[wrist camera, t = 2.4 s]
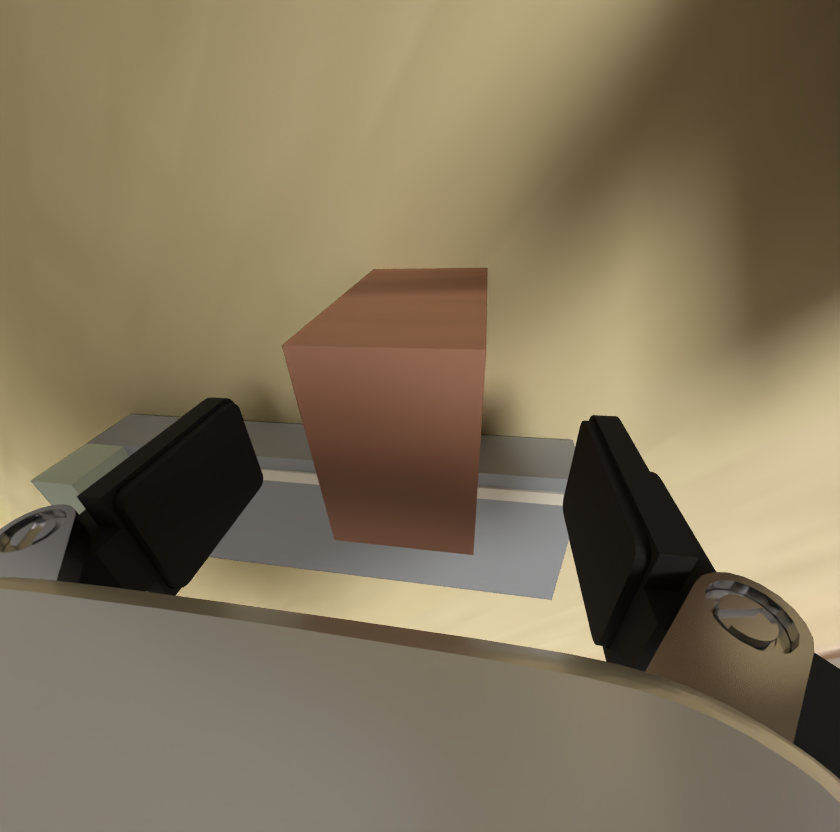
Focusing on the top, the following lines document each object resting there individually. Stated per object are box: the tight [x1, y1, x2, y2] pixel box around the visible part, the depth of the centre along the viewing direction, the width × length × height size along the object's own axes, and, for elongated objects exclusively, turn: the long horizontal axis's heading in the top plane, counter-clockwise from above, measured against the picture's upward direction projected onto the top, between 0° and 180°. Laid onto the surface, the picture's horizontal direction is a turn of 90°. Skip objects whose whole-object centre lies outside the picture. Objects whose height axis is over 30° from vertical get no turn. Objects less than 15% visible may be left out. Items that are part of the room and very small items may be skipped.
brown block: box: [282, 268, 488, 555], centre depth 12 cm, size 8×4×7 cm, turn 2°
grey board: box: [31, 414, 575, 600], centre depth 17 cm, size 8×22×5 cm, turn 92°
